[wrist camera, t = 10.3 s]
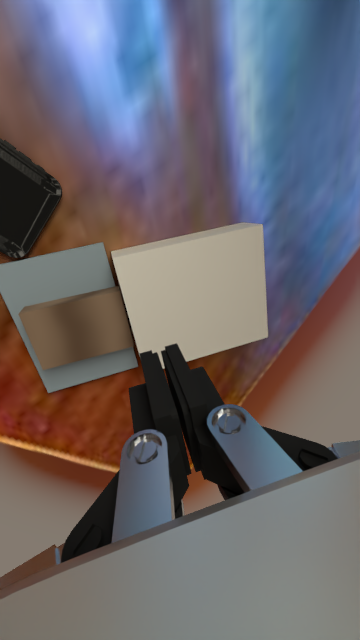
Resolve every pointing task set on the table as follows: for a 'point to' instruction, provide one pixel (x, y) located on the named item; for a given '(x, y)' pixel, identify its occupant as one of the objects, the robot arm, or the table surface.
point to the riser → (196, 290)
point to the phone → (23, 200)
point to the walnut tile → (77, 327)
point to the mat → (55, 283)
